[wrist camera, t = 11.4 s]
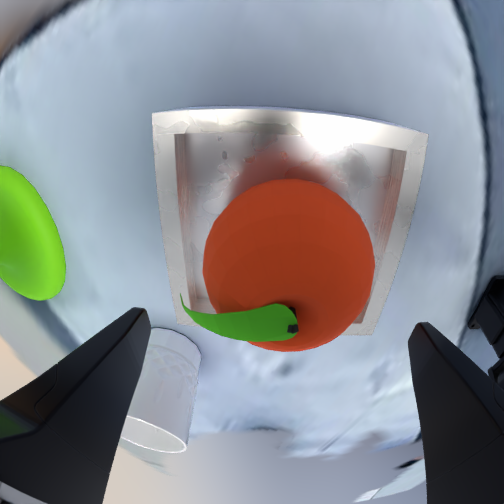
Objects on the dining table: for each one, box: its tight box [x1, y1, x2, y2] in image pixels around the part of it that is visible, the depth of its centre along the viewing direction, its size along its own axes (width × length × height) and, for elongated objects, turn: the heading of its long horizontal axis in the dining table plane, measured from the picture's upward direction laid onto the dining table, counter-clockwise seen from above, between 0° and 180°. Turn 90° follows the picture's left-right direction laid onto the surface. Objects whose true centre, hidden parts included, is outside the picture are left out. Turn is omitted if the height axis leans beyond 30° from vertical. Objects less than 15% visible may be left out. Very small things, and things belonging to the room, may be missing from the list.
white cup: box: [120, 328, 201, 453], centre depth 22 cm, size 8×8×10 cm
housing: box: [152, 106, 429, 335], centre depth 16 cm, size 12×12×6 cm
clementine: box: [180, 179, 375, 352], centre depth 11 cm, size 8×7×7 cm
